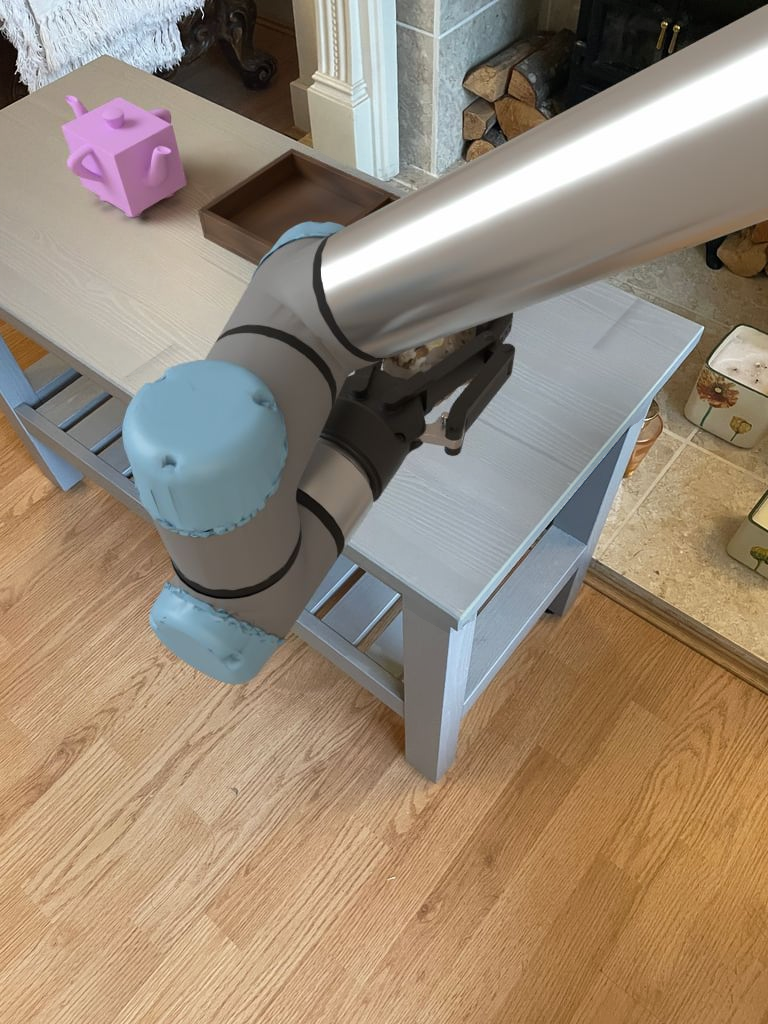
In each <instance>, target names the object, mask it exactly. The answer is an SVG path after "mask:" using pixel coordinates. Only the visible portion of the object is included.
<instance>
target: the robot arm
mask: <svg viewBox="0 0 768 1024" xmlns="http://www.w3.org/2000/svg"><path fill="white" fill-rule="evenodd" d="M767 220H768V3H767V4H765V5H763V6H762V7H759V8H758V9H756V10H754V11H752V12H750V13H748V14H747V15H744V16H743V17H741V18H739V19H736V20H735V21H733V22H730V23H729V24H728V25H725V26H724V27H721V28H720V29H717V30H716V31H714V32H712V33H710V34H708V35H707V36H704V37H703V38H701V39H699V40H696V41H695V42H693V43H692V44H690V45H687V46H686V47H684V48H682V49H680V50H678V51H676V52H674V53H673V54H670V55H669V56H667V57H664V58H663V59H661V60H660V61H658V62H655V63H654V64H652V65H650V66H648V67H646V68H644V69H642V70H640V71H638V72H636V73H635V74H632V75H631V76H629V77H627V78H625V79H623V80H622V81H619V82H617V83H616V84H614V85H612V86H610V87H608V88H606V89H604V90H603V91H600V92H599V93H596V94H595V95H593V96H591V97H589V98H587V99H586V100H583V101H582V102H580V103H578V104H576V105H573V106H572V107H570V108H569V109H567V110H564V111H563V112H561V113H559V114H557V115H555V116H554V117H551V118H549V119H547V120H546V121H544V122H542V123H539V124H538V125H536V126H534V127H532V128H531V129H529V130H527V131H524V132H523V133H521V134H519V135H517V136H516V137H513V138H512V139H510V140H508V141H506V142H504V143H502V144H500V145H498V146H496V147H495V148H493V149H491V150H488V151H487V152H485V153H483V154H481V155H479V156H478V157H476V158H474V159H472V160H470V161H468V162H466V163H464V164H462V165H460V166H458V167H457V168H455V169H452V170H451V171H449V172H447V173H446V174H444V175H442V176H440V177H438V178H436V179H434V180H432V181H430V182H428V183H426V184H425V185H423V186H420V187H419V188H417V189H415V190H413V191H411V192H410V193H408V194H405V195H404V196H402V197H401V198H400V199H398V200H396V201H394V202H392V203H390V204H389V205H387V206H385V207H383V208H381V209H379V210H377V211H375V212H373V213H372V214H370V215H368V216H366V217H364V218H362V219H360V220H358V221H356V222H355V223H353V224H351V225H349V226H347V227H345V226H342V225H340V224H336V223H332V222H326V223H319V222H311V221H309V222H304V223H301V224H298V225H296V226H294V227H293V228H291V229H289V230H288V231H287V232H285V233H284V234H283V235H282V236H281V237H280V239H279V240H278V241H277V243H276V244H275V245H274V246H273V248H272V249H271V250H270V252H268V253H267V254H266V255H265V256H264V257H263V258H262V259H261V261H260V263H259V265H258V266H257V267H256V268H255V270H254V271H253V274H252V276H251V280H250V282H249V283H248V285H247V287H246V289H245V290H244V292H243V293H242V296H241V297H240V299H239V301H238V303H237V304H236V306H235V308H234V310H233V311H232V313H231V314H230V317H229V318H228V320H227V321H226V324H225V325H224V327H223V329H222V330H221V332H220V334H219V336H218V337H217V339H216V341H215V342H214V344H213V345H212V347H211V349H210V350H209V351H208V353H207V355H206V357H205V359H198V360H192V361H187V362H184V363H183V362H182V363H179V364H176V365H173V366H171V367H169V368H167V369H165V370H164V373H163V375H162V376H161V377H159V378H158V379H156V380H155V381H153V382H146V383H145V384H143V385H142V387H141V388H140V389H139V390H137V392H136V393H135V394H134V396H133V397H132V399H131V401H130V402H129V404H128V406H127V408H126V410H125V414H124V417H123V421H122V429H121V430H122V431H121V432H122V433H121V435H122V436H121V437H122V443H123V444H122V445H123V448H124V451H125V453H126V456H127V459H128V462H129V464H130V467H131V472H132V476H133V478H134V479H133V480H134V488H135V491H136V494H137V496H138V498H139V500H140V502H141V504H142V507H143V508H144V509H145V510H146V511H147V512H148V513H149V515H150V517H151V520H152V522H153V524H154V526H155V528H156V530H157V532H158V534H159V536H160V538H161V541H162V542H163V544H164V547H165V549H166V551H167V553H168V555H169V559H170V564H171V568H172V570H173V572H174V574H175V575H174V576H173V577H171V579H170V580H169V581H166V582H165V583H164V584H163V586H162V590H161V591H160V593H159V595H158V597H156V600H155V601H154V602H153V605H152V606H151V608H150V611H149V615H148V622H149V623H148V624H149V626H150V628H151V630H152V632H153V634H154V635H155V636H156V637H157V639H158V640H159V641H160V642H161V643H162V644H163V645H164V646H165V647H166V648H167V649H168V650H169V651H170V652H172V654H173V655H175V656H176V657H177V658H178V659H180V660H181V661H182V662H184V663H185V664H187V665H188V666H190V667H191V668H193V669H195V670H197V671H199V672H200V673H202V674H204V675H205V676H208V677H209V678H212V679H213V680H215V681H219V682H220V683H224V684H228V685H236V686H237V685H243V684H247V683H248V682H249V683H250V681H253V680H254V679H255V678H256V677H257V676H258V675H259V673H260V672H261V671H262V670H263V668H264V667H265V666H266V664H267V663H268V662H269V661H270V659H271V658H272V656H274V654H275V653H276V651H277V650H278V649H279V647H282V646H283V645H284V644H285V643H286V641H287V640H286V637H287V636H288V634H289V633H290V631H291V629H292V628H293V627H294V625H295V624H296V622H297V620H298V619H299V617H301V615H302V613H303V612H304V610H305V609H306V607H307V606H308V604H309V602H310V601H311V600H312V598H313V596H314V595H315V593H316V592H317V591H318V589H319V587H320V586H321V584H322V583H323V581H324V580H325V578H326V577H327V575H328V574H329V572H330V571H331V569H332V568H333V566H334V565H335V563H336V562H337V560H338V558H339V557H340V556H341V554H342V553H343V551H344V550H345V549H346V547H347V546H348V545H349V543H350V541H351V539H352V538H353V537H354V535H355V534H356V533H357V531H358V529H359V528H360V526H361V525H362V523H363V522H364V521H365V519H366V518H367V516H368V514H369V513H370V512H371V510H372V508H373V506H374V503H376V502H377V501H378V500H380V497H381V496H382V494H383V493H384V492H385V490H386V489H387V487H388V486H389V484H390V483H391V482H392V480H393V478H394V477H395V475H396V474H397V472H399V469H400V468H401V467H402V465H403V463H404V461H405V459H406V458H407V456H408V455H409V454H410V453H412V452H413V451H415V450H417V449H419V448H420V447H421V446H423V445H424V444H429V445H436V446H441V447H443V448H444V449H443V451H444V452H445V454H446V455H447V456H450V457H455V456H458V455H460V454H461V452H462V449H463V445H464V440H465V436H466V433H467V432H468V430H470V428H471V427H472V426H473V425H474V423H475V422H476V420H477V419H478V418H479V416H480V415H481V414H482V413H483V411H484V410H485V409H486V408H487V406H488V405H489V404H490V402H492V400H493V399H494V398H495V396H496V395H498V393H499V392H500V390H501V389H502V388H503V386H504V385H505V384H506V383H507V382H508V380H509V379H510V377H511V376H512V374H513V367H514V361H515V354H516V347H515V345H513V344H511V343H509V342H508V343H505V341H506V339H507V338H508V336H509V335H510V334H511V332H512V326H513V320H514V313H515V312H518V311H521V310H523V309H527V308H529V307H531V306H535V305H537V304H540V303H542V302H545V301H548V300H551V299H554V298H557V297H560V296H562V295H566V294H568V293H570V292H573V291H576V290H578V289H582V288H584V287H587V286H589V285H592V284H595V283H597V282H600V281H603V280H606V279H608V278H611V277H614V276H617V275H620V274H622V273H625V272H627V271H631V270H633V269H636V268H639V267H641V266H644V265H647V264H649V263H653V262H655V261H658V260H661V259H663V258H666V257H669V256H671V255H675V254H677V253H679V252H683V251H685V250H686V251H687V250H688V249H691V248H693V247H696V246H700V245H702V244H705V243H708V242H710V241H713V240H716V239H718V238H721V237H724V236H727V235H729V234H732V233H735V232H737V231H740V230H743V229H746V228H749V227H751V226H754V225H757V224H760V223H762V222H765V221H767ZM474 326H476V335H475V338H473V339H472V340H471V341H469V342H468V343H466V344H465V345H463V346H462V347H460V348H459V349H458V350H456V351H455V352H453V353H452V354H450V355H449V356H448V357H446V358H445V359H443V360H442V361H440V362H439V363H438V364H436V365H435V366H433V367H432V368H430V369H429V370H427V371H426V372H423V371H419V372H418V373H416V374H415V375H413V376H412V377H410V378H409V379H404V378H398V377H393V376H391V375H390V374H388V373H387V372H385V371H383V369H382V367H383V363H382V362H383V360H384V359H386V358H389V357H392V356H395V355H397V354H400V353H403V352H406V351H408V350H411V349H414V348H417V347H419V346H422V345H425V344H428V343H430V342H433V341H436V340H439V339H441V338H444V337H447V336H450V335H452V334H455V333H458V332H461V331H463V330H466V329H469V328H472V327H474ZM352 373H353V374H352ZM476 374H477V375H476ZM475 375H476V376H475ZM474 376H475V377H474ZM472 377H474V378H473V379H472V381H471V382H470V383H469V384H467V386H466V387H464V389H463V390H462V392H461V393H460V394H459V395H458V396H457V397H456V399H455V400H454V402H453V403H452V405H451V407H450V409H449V412H448V411H443V412H442V413H441V415H440V416H438V417H437V419H436V421H435V422H432V423H427V422H426V418H425V417H426V416H427V415H429V414H430V413H431V412H432V411H433V409H434V408H435V407H434V405H435V404H436V403H438V402H439V401H440V400H442V399H443V398H445V397H446V396H447V395H449V394H450V393H451V392H453V391H454V390H455V391H457V389H458V388H461V387H462V386H461V385H463V384H464V383H465V382H467V381H468V380H469V379H471V378H472ZM460 386H461V387H460ZM463 386H464V385H463Z"/></svg>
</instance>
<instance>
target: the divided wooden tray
mask: <svg viewBox="0 0 768 1024" xmlns="http://www.w3.org/2000/svg"><path fill="white" fill-rule="evenodd" d="M400 198H402V197H400V196H398V195H396V194H394V193H392V192H390V191H388V190H385V189H384V188H381V187H378V186H377V185H374V184H373V183H370V182H368V181H365V180H363V179H361V178H358V177H357V176H354V175H352V174H350V173H348V172H346V171H344V170H341V169H339V168H337V167H334V166H332V165H330V164H328V163H325V162H323V161H321V160H319V159H317V158H314V157H312V156H310V155H308V154H306V153H303V152H302V151H299V150H296V149H294V148H290V149H288V150H287V151H285V152H284V153H282V154H280V155H279V156H278V157H276V158H275V159H273V160H272V161H270V162H269V163H267V164H266V165H264V166H263V167H261V168H260V169H258V170H257V171H255V172H254V173H252V174H251V175H249V176H248V177H246V178H244V179H243V180H242V181H240V182H238V183H237V184H235V185H234V186H232V187H231V188H229V189H227V190H226V191H225V192H223V193H222V194H220V195H218V197H216V198H215V199H213V200H211V201H210V202H208V203H207V204H205V205H204V206H202V207H201V208H199V209H198V210H197V213H198V218H199V221H200V225H201V229H202V235H203V237H204V239H206V240H208V241H210V242H212V243H214V244H215V245H218V246H219V247H221V248H223V249H225V250H226V251H229V252H231V253H232V254H234V255H235V256H238V257H240V258H241V259H243V260H245V261H247V262H249V263H251V264H253V265H255V266H257V267H258V265H259V263H260V261H261V259H262V258H263V257H264V256H265V255H266V254H267V253H268V252H270V250H271V249H272V248H273V246H274V245H275V244H276V243H277V241H278V240H279V239H280V237H281V236H282V235H283V234H284V233H285V232H287V231H288V230H289V229H291V228H293V227H294V226H296V225H298V224H301V223H304V222H309V221H311V222H319V223H326V222H332V223H336V224H340V225H342V226H345V227H347V226H349V225H351V224H353V223H355V222H356V221H358V220H360V219H362V218H364V217H366V216H368V215H370V214H372V213H373V212H375V211H377V210H379V209H381V208H383V207H385V206H387V205H389V204H390V203H392V202H394V201H396V200H398V199H400Z"/></svg>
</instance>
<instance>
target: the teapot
mask: <svg viewBox="0 0 768 1024" xmlns="http://www.w3.org/2000/svg"><path fill="white" fill-rule="evenodd" d="M64 99H65V101H66V103H67V104H68V105H69V106H70V107H71V109H72V111H73V112H74V115H75V117H76V118H74V119H72V120H71V121H69V122H67V123H65V124H62V125H61V130H62V133H63V137H64V139H65V141H66V142H65V143H66V145H67V147H68V150H69V152H70V155H69V156H68V158H67V160H66V166H67V169H68V170H69V171H70V172H71V173H72V174H74V175H75V176H77V177H78V179H79V181H80V183H81V186H82V187H84V188H85V189H87V190H89V191H90V192H92V193H94V194H95V195H97V196H98V197H99V199H100V200H101V201H103V202H108V203H109V204H111V205H113V206H115V207H117V208H118V209H119V210H121V211H123V212H124V213H125V215H126V217H129V218H136V217H139V216H141V215H142V214H143V212H144V211H145V210H146V209H148V208H150V207H152V206H153V205H156V204H157V203H158V202H160V201H161V200H163V199H169V198H171V197H173V196H174V195H175V193H176V192H177V191H178V190H180V189H182V188H184V187H186V186H187V179H186V176H185V171H184V168H183V164H182V163H183V162H182V159H181V154H180V150H179V147H178V143H177V138H176V134H175V131H174V126H173V125H172V124H171V123H172V114H171V112H170V110H168V109H166V108H162V107H161V108H155V109H152V110H149V111H147V110H145V109H143V108H141V107H139V106H138V105H135V104H134V103H132V102H130V101H128V100H125V99H124V98H122V97H120V96H118V97H116V98H114V99H112V100H110V101H108V102H106V103H104V104H102V105H99V106H98V107H96V108H94V109H91V110H90V111H88V110H87V108H86V107H85V106H84V104H83V103H82V102H81V101H80V100H79V99H78V98H77V97H75V96H73V95H65V96H64Z"/></svg>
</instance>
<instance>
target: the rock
mask: <svg viewBox="0 0 768 1024" xmlns="http://www.w3.org/2000/svg"><path fill="white" fill-rule="evenodd" d="M475 335H476V326H474V327H472V328H469V329H466V330H463V331H461V332H458V333H455V334H452V335H450V336H447V337H444V338H441V339H439V340H436V341H433V342H430V343H428V344H425V345H422V346H419V347H417V348H414V349H411V350H408V351H406V352H403V353H400V354H397V355H395V356H392V357H389V358H386V359H383V362H382V370H383V371H385V372H387V373H388V374H390V375H391V376H393V377H398V378H404V379H409V378H410V377H412V376H413V375H415V374H416V373H418V372H419V371H423V372H426V371H427V370H429V369H430V368H432V367H433V366H435V365H436V364H438V363H439V362H440V361H442V360H443V359H445V358H446V357H448V356H449V355H450V354H452V353H453V352H455V351H456V350H458V349H459V348H460V347H462V346H463V345H465V344H466V343H468V342H469V341H471V340H472V339H473V338H475ZM476 375H477V374H476ZM476 375H475V376H476ZM475 376H474V377H475ZM474 377H472V378H471V379H469V380H468V381H467V382H465V383H464V384H463V385H461V386H460V387H459V388H461V387H463V386H466V385H468V384H469V383H470V382H471V381H472V379H473V378H474ZM455 392H456V390H454V391H453V392H451V393H450V394H449V395H447V396H446V397H445V398H443V399H442V400H440V401H439V402H438V403H436V404H435V405H434V407H433V408H437V407H438V406H440V405H441V404H442V403H443V402H444V401H447V400H448V399H449V398H450V397H451V396H452V395H453V394H454V393H455Z"/></svg>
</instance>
